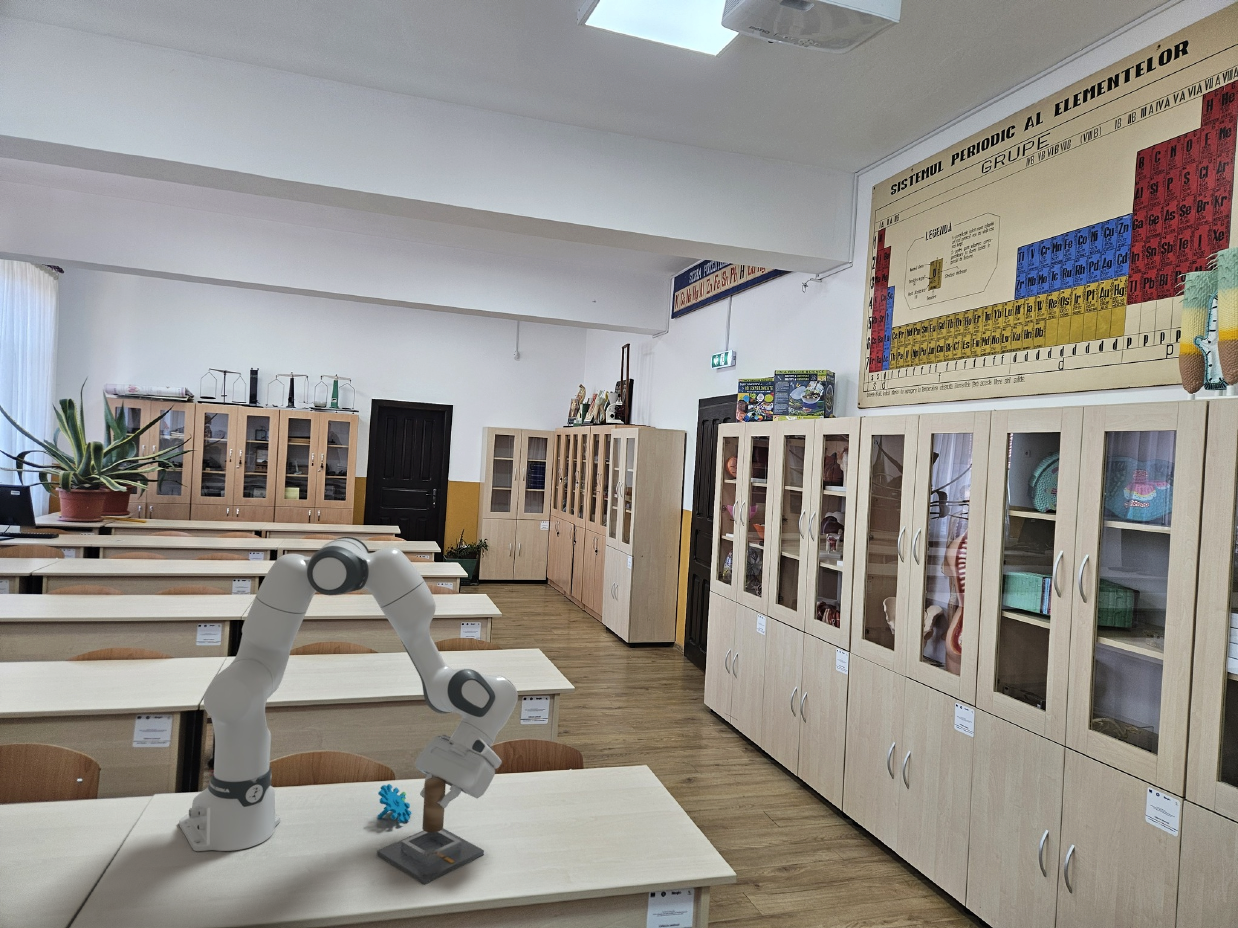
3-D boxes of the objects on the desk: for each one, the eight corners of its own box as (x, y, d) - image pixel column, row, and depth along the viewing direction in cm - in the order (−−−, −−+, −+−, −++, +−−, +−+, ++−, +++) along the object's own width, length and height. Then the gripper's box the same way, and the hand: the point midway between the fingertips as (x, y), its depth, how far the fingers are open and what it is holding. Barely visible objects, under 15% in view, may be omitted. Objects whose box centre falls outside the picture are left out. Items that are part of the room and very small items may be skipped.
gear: (402, 824, 177) (376, 788, 179) (382, 841, 177) (357, 805, 179) (420, 809, 188) (396, 775, 190) (402, 825, 188) (378, 791, 190)
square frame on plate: (376, 854, 167) (377, 840, 167) (436, 828, 180) (437, 815, 180) (424, 884, 157) (425, 869, 157) (483, 854, 170) (484, 840, 170)
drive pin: (418, 827, 168) (420, 781, 168) (434, 820, 171) (436, 775, 171) (431, 834, 165) (433, 788, 165) (447, 827, 169) (450, 781, 168)
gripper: (432, 724, 180) (394, 779, 172) (493, 750, 167) (455, 810, 160) (446, 738, 183) (409, 792, 176) (507, 764, 171) (470, 824, 163)
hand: (432, 801), depth 168 cm, fingers closed on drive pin, 4 cm apart
